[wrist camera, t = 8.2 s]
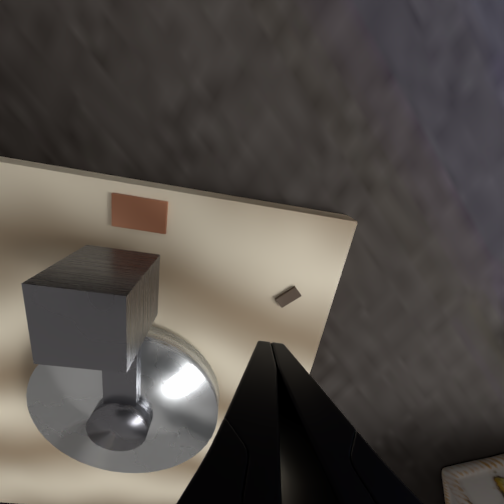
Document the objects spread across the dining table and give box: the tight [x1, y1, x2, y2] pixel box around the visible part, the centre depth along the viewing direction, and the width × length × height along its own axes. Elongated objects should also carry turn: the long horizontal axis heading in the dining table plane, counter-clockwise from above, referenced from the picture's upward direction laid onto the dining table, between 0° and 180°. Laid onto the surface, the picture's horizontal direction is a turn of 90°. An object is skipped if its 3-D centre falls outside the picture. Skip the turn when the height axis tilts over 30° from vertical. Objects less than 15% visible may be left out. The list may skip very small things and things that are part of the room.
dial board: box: [0, 156, 357, 504], centre depth 17 cm, size 24×20×2 cm
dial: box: [21, 245, 220, 473], centre depth 13 cm, size 14×10×5 cm
